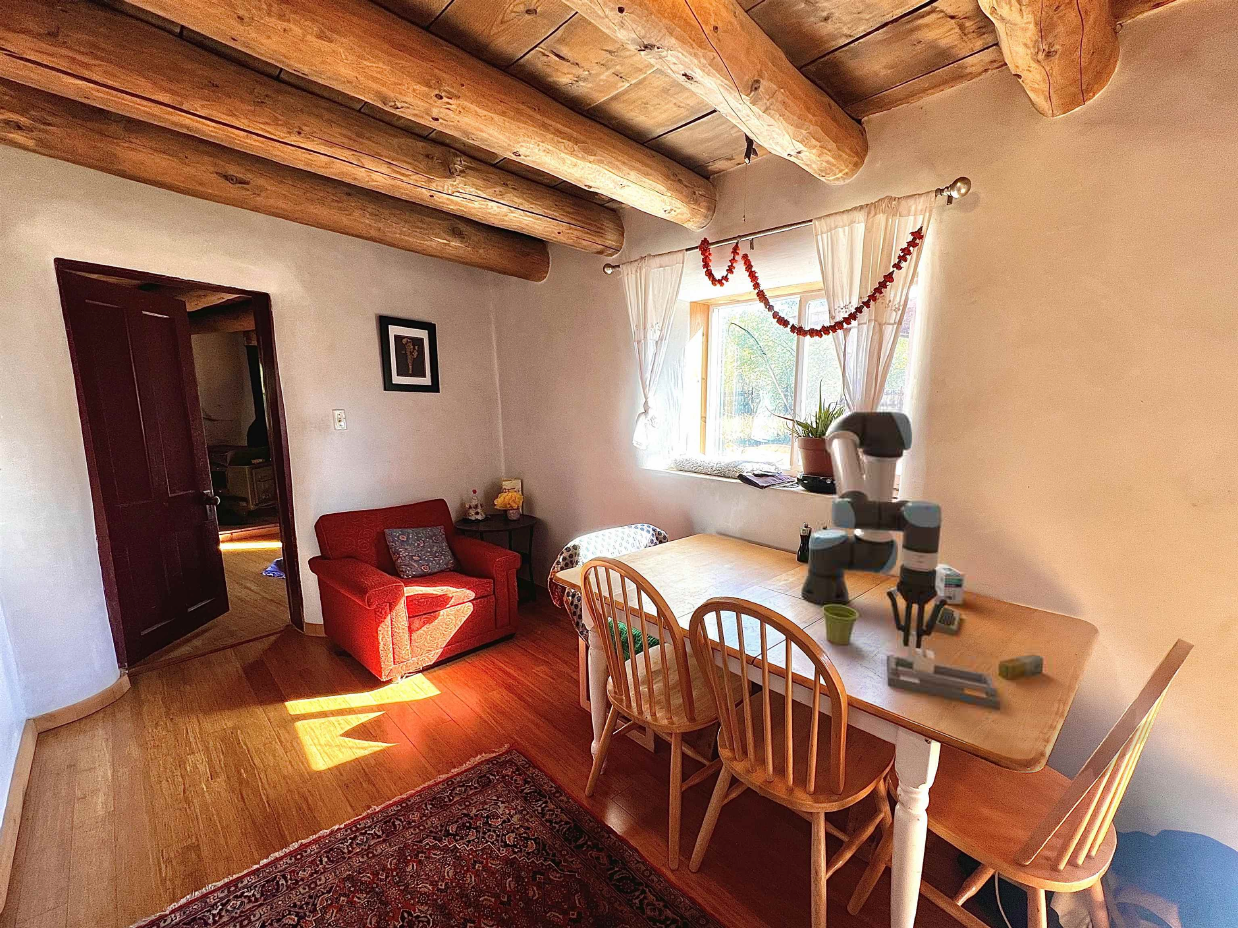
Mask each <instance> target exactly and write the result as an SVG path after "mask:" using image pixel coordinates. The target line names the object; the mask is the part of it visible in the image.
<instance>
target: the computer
mask: <svg viewBox="0 0 1238 928" xmlns="http://www.w3.org/2000/svg"><path fill="white" fill-rule="evenodd" d="M934 604H935V603H934ZM934 604H932V606H931V608H930V611H929V613H928V616H927V619H926V621H925V623H924V627H925V626H926V624H927V621H928V619H929V616H930V614H931V611H932V609H933V607H934ZM961 617H962V613H961V611H959V610H956V609H953V608H949V607H948V606H944V607H943V608H942V609H941V612H940V614H939V616H938V619H937V621H936V624H935V626H934V629H933V631H936V632H942V633H945V634H949V635H953V636H954V635H955V636H956V635H957V634H958V633H957V632H958V629H959V625H960V622H961Z"/></svg>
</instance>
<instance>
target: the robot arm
mask: <svg viewBox="0 0 1238 928" xmlns="http://www.w3.org/2000/svg"><path fill="white" fill-rule="evenodd" d="M912 431H913V430H912V425H911V421H910V419H909V417H908V416H907V414H906V413H904V412H896V411H850V412H847V413H844V414H843V415H840V416H839V417H838V418H836V419H835V420H834V421H832V423H831V424H830V425H829V427H828V429H827V430H826V434H825V437H824V441H825V448H826V450H827V452H828V453H829V454H830V458H831V464H832V465H831V466H832V471H833V476H834V477H833V478H834V484H835V489H836V496H837V499H834V500H833V501H832V503H831V510H830V511H831V512H830V514H831V523H832V525H833V526H834V527H836V528H841V530H840V529H839V530H838V529H823V530H818V531H815V532H813V533H812V534H811V535H810V538H809V545H808V548H809V550H808V551H809V553H808V566H807V575H806V578H805V580H804V581H803V585H802V587H801V596H802V598H803V599H804V600H806V601H808V602H811V603H814V604H817V605H822V606H826V605H842V606H845V605H847V604H848V603H849V597H850V594H849V590H848V588H847V584H846V583H847V582H846V580H845V579H846V578H845V572H846V571H847V572H848V571H849V572H859V573H872V574H890V573H891V572H893V570H894V568H895V567H896V565H897V561H898V557H899V545H898V542H897V540H896V539H894V535H893V534H892V532H900V533H902V542H901V544H902V546H901V553H900V554H901V556H900V563H901V565H900V569H899V579H898V580H899V581H898V582H897V584H896V585H895V587H893V588H886V591H885V593H886V596H887V597H888V599H889V601H890V603H891V609H892V613H893V619H894V624H895V629H896V630H897V631H899V632H902V633H903V636H902V637H903V638H902V644H903V647H907V650H906V658H907V661H910V662H915V650H916V648H918V649H922V641H923V637H924V636H927V637H930V636H931V635H932V633H933V632H934V630H933V629H934V626H935V624H936V621H937V619H938V616H939V614H940V612H941V609H942V608H943V607H946V606H947V605H948V604H947V600H946V598H945V597H942V596H940V595H939V594H938V593H937V590H936V588H935V584H936V572H937V571H936V570H935V568H936V567H937V564H938V560H939V559H938V558H939V557H938V556H939V549H940V548H939V546H940V537H941V536H940V535H941V525H942V522H943V517H942V507H941V506H940V505H939V504H937V503H935V502H931V501H923V500H907V499H901V500H897V501H893V496H894V488H895V477H896V471H897V463H898V461H899V460H900V459H902V458H903V456H904V451H909V450H910V449H911V447H912V443H913V432H912ZM859 449H860V450H862V451H861V454H862V455H863V456H864V457H865V458H866V463H865V473H863V469H862V464H861V460H860V454H859ZM842 529H847V530H852V529H853V530H854V532H853V536H852V535H848V534H847V532H846V531H844V530H842ZM898 593H899V595H900V596H901V597H902V599H903V600H904V602H905V609H904V610H905V611H904V619H903V620H904V621H903V623H904V624H902V622H901V615H900V612H899V606H898V605H899V604H898V601H897V598H898ZM934 597H935V598H934ZM933 599H934V607H933V609H932V611H931V610H930V611H931V614H930V616H929V619H928V621H927V624H926V626H925V625H924V618H925V610H926V605H928V604H929V603H930V602H931V601H932V600H933ZM914 605H917V610H916V611H917V613H916V622H915V626H916V627H915V631H911V626H912V625H911V624H912V613H913V606H914Z"/></svg>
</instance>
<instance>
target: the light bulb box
mask: <svg viewBox="0 0 1238 928" xmlns="http://www.w3.org/2000/svg"><path fill="white" fill-rule="evenodd" d="M935 570H936V571H937V572H936V584H935V588H936V590H937V593H938V594H939V595H940V596H942V597H945V598H946V600H947V604H946V605H949V604H950V605H963V598H964V588H965V587H964V585H965V577H966V576H965V573H963V572H961V571H960V570H958V569H955V568H954V567H952V566H949V565H948V564H946V563H942V564H941V563H940V564H939V563H937V567H936V568H935ZM933 599H935V597H934V598H933Z"/></svg>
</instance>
